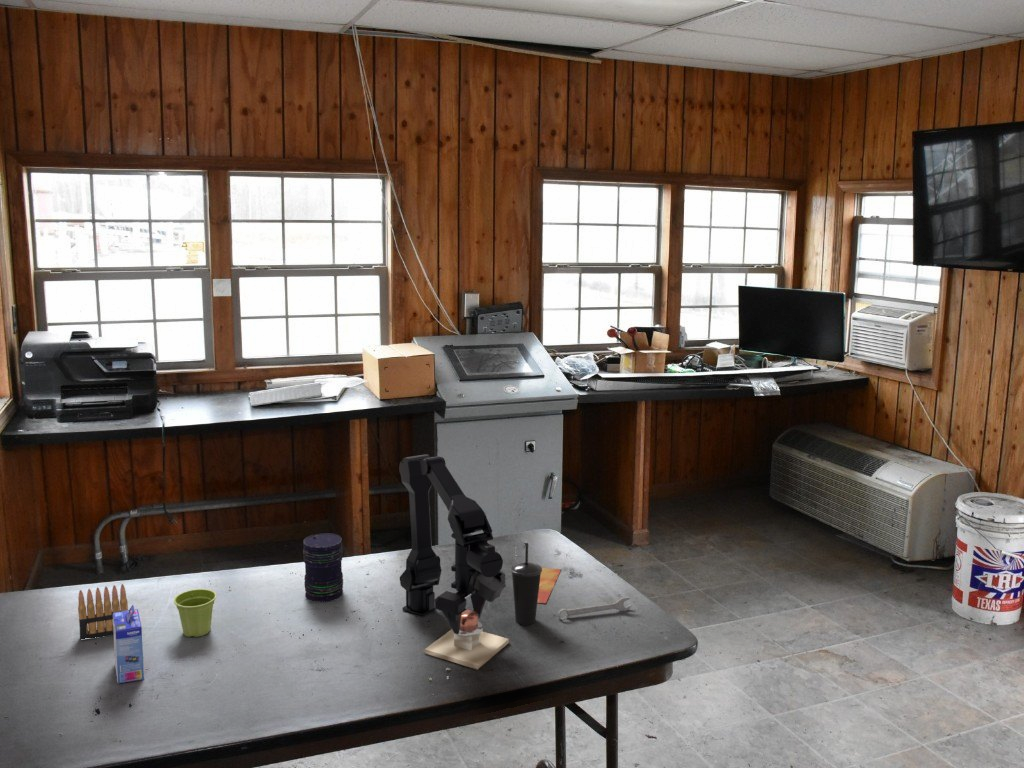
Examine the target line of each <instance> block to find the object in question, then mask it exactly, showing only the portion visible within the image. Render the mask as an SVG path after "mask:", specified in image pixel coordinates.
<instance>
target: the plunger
mask: <svg viewBox="0 0 1024 768" xmlns="http://www.w3.org/2000/svg"><path fill="white" fill-rule="evenodd" d="M483 629H484V628H483V624H482V623H481V622H480V621H479V618H478V613H477V612H475V611H474V610H472V609H467V610H466V611H464V612H463V613H462V614H461V623H460V630H459V634H457V635H459V636H465V637H469V636H475V635H478V634H480V633H481V632H482V631H483ZM452 631H453V630H452Z"/></svg>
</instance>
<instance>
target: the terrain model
mask: <svg viewBox="0 0 1024 768" xmlns="http://www.w3.org/2000/svg"><path fill="white" fill-rule="evenodd" d="M561 570H562V569H561V568H560V569H559V568H547V567H542V572H541V576H540V584H539V593H538V601H537V604H547V602H548V599H549V597H550V595H551V592H552V591H553V588H554V587H555V585H556V581H557V580H558V577H559V575H560V573H561Z"/></svg>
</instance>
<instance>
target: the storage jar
mask: <svg viewBox="0 0 1024 768" xmlns="http://www.w3.org/2000/svg"><path fill="white" fill-rule="evenodd" d="M342 540H343V539H342V537H341V535H338V534H336V533H331V532H330V533H329V532H327V533H323V532H322V533H316V534H315V533H314V534H311V535H309V536H307V537H305V538H304V539H303V550H302V551H303V562H304V565H305V566H304V567H305V569H304V570H305V571H304V573H305V574H304V585H303V586H304V591H305V594H304V595H305V599H306V600H308V601H309V602H314V603H329V602H334V601H337V600H339V599H341V598H342V597H343V594H344V590H343V588H344V574H343V569H342V560H343V558H344V557H343V556H344V555H343V543H342V542H343V541H342Z"/></svg>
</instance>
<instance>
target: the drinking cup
mask: <svg viewBox="0 0 1024 768" xmlns="http://www.w3.org/2000/svg"><path fill="white" fill-rule="evenodd" d="M524 550H525V551H524V552H525V553H524V555H525V556H524V558H525V559H524V561H522V562H521V561H520V562H517V563H515V564H513V565H512V566H510V572H511V575H512V576H511V579H512V590H513V602H514V615H515V622H516V623H517V624H519V625H522V626H527V625H528V626H529V625H533V624H534V623H535V622H536V618H537V609H538V608H537V607H538V603H537V601H538V593H539V584H540V576H541V572H542V568H543V567H542V566H541V565H540V564H538V563H535V562H531V561H529V543H528V542H526V543H525V549H524Z"/></svg>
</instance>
